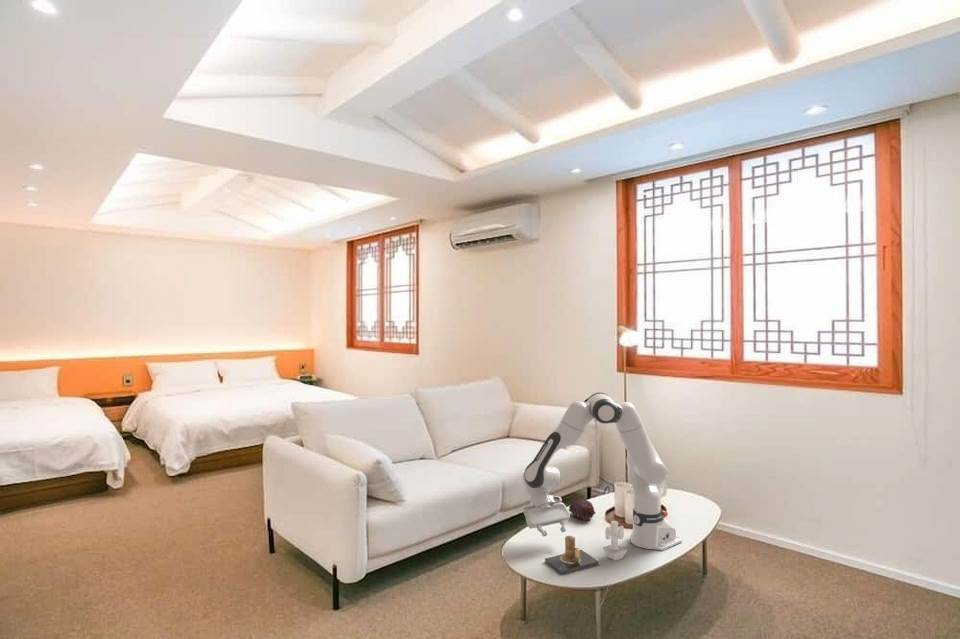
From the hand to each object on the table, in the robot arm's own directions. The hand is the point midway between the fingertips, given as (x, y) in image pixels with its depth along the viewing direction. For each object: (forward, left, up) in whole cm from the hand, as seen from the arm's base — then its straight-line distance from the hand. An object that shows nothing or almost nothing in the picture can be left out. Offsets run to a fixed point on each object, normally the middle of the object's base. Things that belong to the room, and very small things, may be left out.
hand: (554, 533), depth 226 cm
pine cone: (-33, -26, -8) cm, 43 cm away
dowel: (0, +16, -6) cm, 17 cm away
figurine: (-19, +16, -8) cm, 26 cm away
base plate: (0, +12, -8) cm, 14 cm away
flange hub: (0, +11, -6) cm, 13 cm away
